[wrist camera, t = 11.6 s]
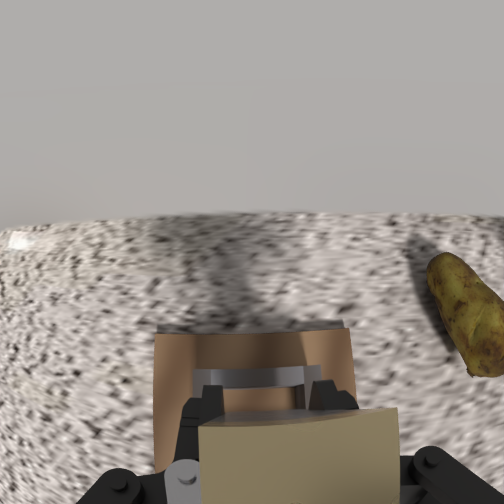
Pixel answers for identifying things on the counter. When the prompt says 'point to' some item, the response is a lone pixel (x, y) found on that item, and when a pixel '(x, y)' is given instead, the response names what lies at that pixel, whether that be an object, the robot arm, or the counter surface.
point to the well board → (243, 374)
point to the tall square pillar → (301, 457)
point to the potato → (469, 314)
